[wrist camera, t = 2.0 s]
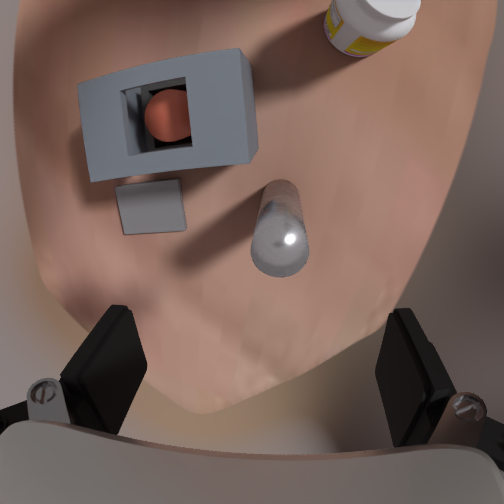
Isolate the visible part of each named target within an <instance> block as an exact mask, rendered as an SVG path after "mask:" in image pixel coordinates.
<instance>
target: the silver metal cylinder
mask: <svg viewBox="0 0 504 504" xmlns="http://www.w3.org/2000/svg"><path fill="white" fill-rule="evenodd" d="M308 256H309V245H308V240H307V234H306V228H305V223H304V218H303V212H302V207H301V202H300V197H299V192H298V190H297V188H296V187H295V185H294V184H292V183H291V182H289V181H287V180H282V179H279V180H274V181H272V182H270V183H269V184H268V185H267V186H266V187H265V189H264V191H263V195H262V199H261V204H260V208H259V213H258V217H257V222H256V226H255V231H254V235H253V239H252V244H251V257H252V260H253V262H254V264H255V265H256V267H257V268H258V269H259V270H260V271H262V272H263V273H265V274H267V275H269V276H273V277H287V276H291V275H293V274H295V273H297V272H298V271H300V270H301V269H302V268H303V267H304V265H305V264H306V262H307V259H308Z"/></svg>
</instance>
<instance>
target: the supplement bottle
mask: <svg viewBox="0 0 504 504" xmlns="http://www.w3.org/2000/svg"><path fill="white" fill-rule="evenodd" d="M420 3H421V0H332V2H331V4H330V6H329V9H328V11H327V13H326V16H325V19H324V29H325V33H326V36H327V38H328V39H329V41H330V42H331V43H332V45H333V46H334V47H336V48H337V49H338V50H339V51H341V52H343V53H345V54H347V55H350V56H355V57H365V56H370V55H372V54H374V53H376V52H378V51H380V50H381V49H383V48H385V47H387V46H388V45H390V44H392V43H393V42H395V41H397V40H399V39H401V38H402V37H404V36H405V35H406V34H408V33H409V32H410V30H411V29H412V27H413V26H414V23H415V20H416V13H417V11H418V9H419V7H420Z"/></svg>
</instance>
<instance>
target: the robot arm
mask: <svg viewBox="0 0 504 504" xmlns="http://www.w3.org/2000/svg"><path fill="white" fill-rule="evenodd" d="M146 371H147V361H146V358H145V354H144V351H143V348H142V345H141V341H140V338H139V335H138V331H137V328H136V324H135V320H134V317H133V313H132V311H131V310H129V309H128V307H127V306H125V305H111V306H110V307H109V308H108V310H107V311H106V312H105V314H104V315H103V316H102V318H101V319H100V320H99V322H98V323H97V324H96V326H95V327H94V328H93V330H92V331H91V332H90V334H89V335H88V336H87V338H86V339H85V340H84V342H83V343H82V345H81V346H80V347H79V349H78V350H77V352H76V353H75V354H74V355H73V357H72V358H71V360H70V361H69V362H68V364H67V365H66V367H65V368H64V370H63V371H62V373H61V374H60V376H61V378H60V380H59V381H57V380H56V379H53V378H44V379H40V380H38V381H36V382H35V383H34V384H32V385H31V387H30V388H29V390H28V392H27V400H26V401H23V402H21V403H18V404H16V405H13V406H10V407H7V408H4V409H2V410H0V504H504V424H502V423H500V422H497V421H495V420H493V419H491V418H489V417H487V407H486V404H485V403H484V401H483V399H481V398H480V397H479V396H478V395H476V394H474V393H471V392H459V393H457V392H456V390H455V388H454V386H453V383H452V381H451V379H450V377H449V375H448V373H447V371H446V369H445V367H444V365H443V363H442V361H441V359H440V357H439V355H438V353H437V351H436V349H435V347H434V346H433V344H432V343H431V342H429V341H428V339H427V337H426V335H425V334H424V332H423V330H422V328H421V326H420V324H419V322H418V321H417V319H416V317H415V315H414V313H413V311H412V310H411V309H410V308H398V309H394V311H393V313H390V314H389V316H388V320H387V324H386V329H385V333H384V337H383V341H382V345H381V349H380V353H379V357H378V361H377V364H376V369H375V375H376V379H377V383H378V387H379V391H380V394H381V398H382V402H383V406H384V409H385V413H386V417H387V421H388V425H389V429H390V434H391V438H392V442H393V446H394V448H389V449H380V450H372V451H360V452H348V453H332V454H308V455H272V454H271V455H270V454H246V453H231V452H219V451H209V450H200V449H192V448H184V447H177V446H171V445H164V444H158V443H153V442H147V441H142V440H137V439H132V438H128V437H123V436H118V435H117V434H118V433H119V430H120V428H121V426H122V424H123V421H124V419H125V417H126V415H127V412H128V410H129V408H130V406H131V403H132V401H133V399H134V397H135V394H136V392H137V390H138V388H139V386H140V384H141V382H142V379H143V377H144V375H145V373H146Z"/></svg>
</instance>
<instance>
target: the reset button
mask: <svg viewBox="0 0 504 504" xmlns="http://www.w3.org/2000/svg"><path fill="white" fill-rule="evenodd" d="M145 124H146V127H147V129H148V130H149V132H150V133H151V134H152V135H153V136H154V137H155V138H157V139H159V140H161V141H165V142H173V141H177V140H180V139H183V138H186V137H189V136H191V127H190V118H189V108H188V98H187V91H181V90H174V89H169V90H164V91H161V92H159V93H157V94H156V95H155V96H154V97H152V99H151V100H150V101H149V103H148V105H147V107H146V110H145Z"/></svg>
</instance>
